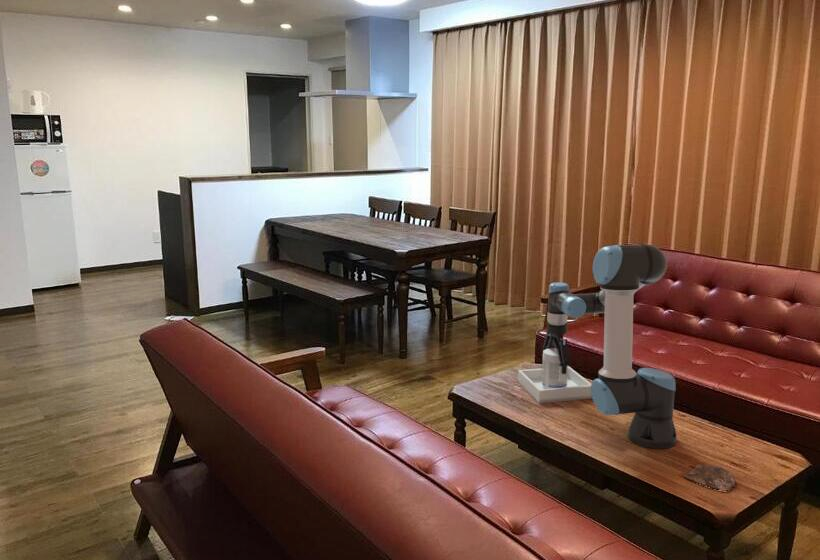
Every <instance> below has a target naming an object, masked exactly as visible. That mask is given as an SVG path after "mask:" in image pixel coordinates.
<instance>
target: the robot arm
mask: <svg viewBox="0 0 820 560" xmlns="http://www.w3.org/2000/svg"><path fill="white" fill-rule="evenodd" d="M667 268H668V261H667V257H666V255H665V254H664V252H663V251H662V250H661V249H660V248H658V247H657V246H655V245H652V244H648V243H643V244H618V245H617V244H614V245H608V246H603V247H602V248H600V249H598V251H597V252H596V254H595V256H594V258H593V261H592V276H593V279H594V281H595V282H596V283H597V284H599V288H600V290H599V291H598V292H589V293H576V294H575V293H571V292H570V286H569V284H568V283H566V282H559V281H558V282H552V283H550V284H549V285H548V293H547V294H548V295H547V297H548V299H547V301H548V302H547V319H546V320H547V324H546V325H547V326H546V335H545V337H544V342H543V345H542V351H544V350H545V349H550V348H555V349H556V350H557V352H558V356H559V360H560V365H559V382H563V381H566V373H567V366H569V367H570V366H571V361H570V356H569V348H568V339H567V338H566V339H564V335H566V334H567V333H568V324H567V323H568V317H569V318H573V319H577V318H578V319H579V318H581V317H582V316H583V315H591V314H604V316H603V317H604V319H603V320H604V327H603V329H604V330H603V366H602V367H601V368H600V369H599V370H598V378H595V379H593V380H592V382H590V383H591V395H592V398H591V399H592V402H593V403H594V405H595V407H596V408H597V410H598V411H599V413H601V414H603V415H605V416H613V415H614V416H618V415H626V414H633V417H632V419H631V422H630V424H629V426H628V429H627V437H628V439H629V440H630V441H631V442H632V443H635V444H636V445H638V446H641V447H643V448H644V447H646V448H648V449H649V448H650V449H655V450H656V449H657V450H658V449H660V450H661V449H669V448H672V447H674V446H675V445H676V444H677V441H678V439H677V438H678V436H677V435H678V434H677V431H676V427H675V423H674V420H673V419H674V417H673V416H674V406H675V397H676V396H675V394H676V391H677V388H676V379H675V377H674V376H673V375H672V374H671V373H668V372H667V371H663V370H660V369H656V368H653V367H652V368H651V367H640V368H639V369H638V370H637V372H636V371H635V370H634V369H633V368H632V367H633V340H634V339H633V331H634V298H635V297H634V295H635V294H636V292H637V291H639V290H640V289H642V288H644V287H645V286H651V285H653V284H655V283H656V282H658V281H659V280H661V279H662V278H663V276H664V275H665V274H666V271H667Z"/></svg>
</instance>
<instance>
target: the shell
mask: <svg viewBox="0 0 820 560" xmlns="http://www.w3.org/2000/svg"><path fill="white" fill-rule="evenodd" d="M684 477H685V478H686V479H687V480H689V481H691V483H693V482H695V483H694V484H696V483H698V484H697V485H699V484H701V485H703V486H702V487H704V486H707V487H710V488H713V489H716V490H722V491H728V490H731V489H732V488H733V489H734V488H735V485H736V483H735V482H736V478H735V477H734V475H733V474H732V473H730V472H729V470H727V469H726V468H723V467H721V466H717V465H711V464H697V465H696V466H694V468H692V469H690V470H689V471H688V473H685V474H684ZM701 485H700V486H701ZM707 487H706V488H707ZM710 488H709V489H710ZM733 489H732V490H733ZM716 490H715V491H716ZM732 490H731V491H732Z"/></svg>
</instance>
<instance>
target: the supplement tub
mask: <svg viewBox="0 0 820 560" xmlns="http://www.w3.org/2000/svg"><path fill="white" fill-rule="evenodd" d="M559 365H560V360H559V356H558V352H557V350H556V349H555V347H554V348H550V349H545V350H542V386H543V387H544V388H545V389H553V388H564V387H567V373H566V381H563V382H559ZM567 367H568V366H567Z"/></svg>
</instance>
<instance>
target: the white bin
mask: <svg viewBox="0 0 820 560" xmlns="http://www.w3.org/2000/svg"><path fill="white" fill-rule="evenodd" d="M542 368H543V367H542ZM542 368H531V369H520V370H517V383H518V384H519V385H520V386H521V387H522V388H523V390H525V391H526V392H527V393H528V394H529V395H530V396H531V397H532V398H533V399H534V400H535V401H536V402H537V403H538V404H546V403H556V402H557V403H558V402H567V401H578V400H588V399H589V400H590V399H592V395H591V383H592V382H589V380H587V379H586V377H585V378H584V376H582V375H581V374H580V373H578V372H577V371H576V370H574V369H573V368H572V367H571V366H570V365H569V366H568V367H567V387H564V388H553V389H545V388H544V387H543V386H542Z"/></svg>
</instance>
